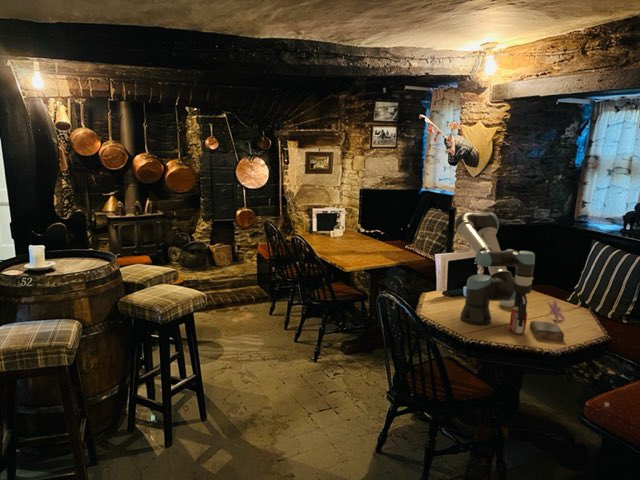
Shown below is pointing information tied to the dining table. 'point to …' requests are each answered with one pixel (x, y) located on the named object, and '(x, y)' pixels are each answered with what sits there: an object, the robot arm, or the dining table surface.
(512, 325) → the soda can
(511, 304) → the lidded jar
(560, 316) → the lily
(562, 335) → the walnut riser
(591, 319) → the dining table surface
